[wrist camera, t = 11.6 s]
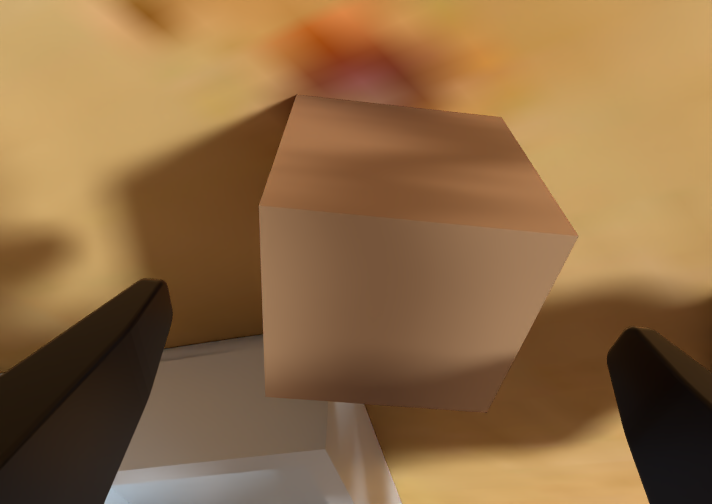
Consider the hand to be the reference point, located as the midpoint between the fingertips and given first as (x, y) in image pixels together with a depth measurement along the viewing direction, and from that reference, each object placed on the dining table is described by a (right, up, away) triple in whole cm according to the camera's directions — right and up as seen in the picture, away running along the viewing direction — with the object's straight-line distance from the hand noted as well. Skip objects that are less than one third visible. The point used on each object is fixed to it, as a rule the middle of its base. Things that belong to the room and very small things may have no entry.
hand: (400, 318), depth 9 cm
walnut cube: (0, +3, +4) cm, 5 cm away
